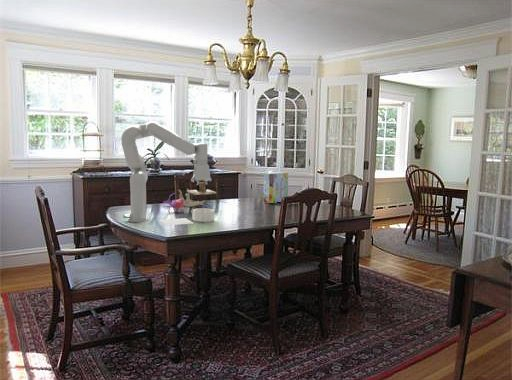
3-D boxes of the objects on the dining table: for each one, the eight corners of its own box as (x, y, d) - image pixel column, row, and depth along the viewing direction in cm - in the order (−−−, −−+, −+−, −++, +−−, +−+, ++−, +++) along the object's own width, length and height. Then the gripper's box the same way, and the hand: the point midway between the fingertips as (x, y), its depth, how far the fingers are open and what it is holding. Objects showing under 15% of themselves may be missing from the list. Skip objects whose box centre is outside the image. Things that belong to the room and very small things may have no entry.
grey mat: (166, 226, 260) (166, 225, 260) (158, 220, 276) (158, 219, 276) (194, 224, 268) (194, 223, 268) (185, 218, 284) (185, 218, 284)
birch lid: (193, 194, 267) (193, 184, 266) (186, 191, 281) (186, 181, 280) (216, 193, 274) (216, 183, 273) (208, 190, 287) (208, 181, 286)
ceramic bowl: (196, 223, 272) (197, 212, 271) (190, 219, 283) (190, 208, 282) (216, 221, 277) (216, 211, 277) (209, 218, 289) (209, 208, 288)
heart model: (188, 213, 309) (168, 211, 296) (181, 215, 315) (160, 213, 302) (188, 192, 312) (168, 190, 299) (181, 194, 318) (160, 191, 305)
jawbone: (176, 205, 337) (178, 188, 336) (186, 205, 345) (187, 188, 344) (198, 210, 322) (200, 192, 321) (208, 210, 330) (210, 192, 329)
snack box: (281, 200, 378) (282, 171, 375) (287, 202, 372) (289, 172, 368) (262, 202, 364) (263, 172, 361) (269, 204, 358) (270, 173, 355)
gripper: (190, 163, 268) (190, 192, 270) (215, 162, 275) (215, 191, 277) (187, 162, 275) (187, 190, 277) (211, 162, 282) (211, 189, 284)
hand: (201, 190), depth 277 cm, fingers closed on birch lid, 4 cm apart
